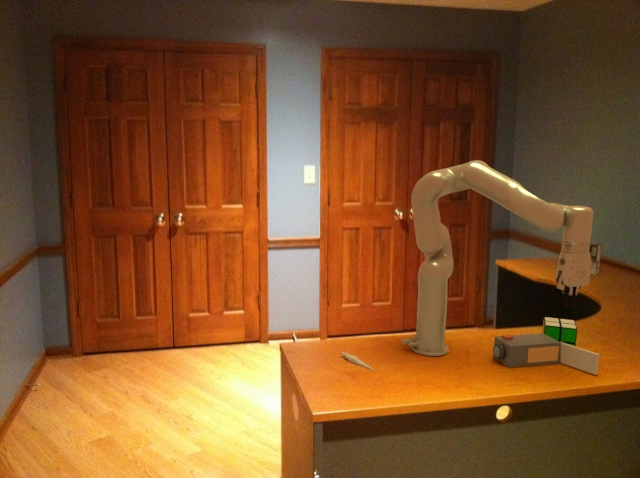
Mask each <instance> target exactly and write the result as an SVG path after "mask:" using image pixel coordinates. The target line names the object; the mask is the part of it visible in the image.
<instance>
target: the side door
mask: <svg viewBox="0 0 640 478" xmlns="http://www.w3.org/2000/svg"><path fill="white" fill-rule="evenodd" d="M558 364H563V365H566V366H569V367H572V368H574V369H578V370H581V371H583V372H586V373H589V374H591V375H595V376H596V375H598V373H599V364H600V353H596V352H594V351H590V350H587V349H585V348H581V347H578V346H576V347H575V346H572V345H569V344H566V343H564V342H560V353H559V363H558Z"/></svg>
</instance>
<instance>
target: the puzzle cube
mask: <svg viewBox="0 0 640 478" xmlns="http://www.w3.org/2000/svg"><path fill="white" fill-rule="evenodd" d="M541 333H544V334H546V335H548V336H549V337H551V338H553V339H555V340H557V341H559V342H564V343H566V344H569V345H572V346H575V347H577V346H576V345H577V344H576V343H577V337H578V328H577V323H576V321H575V320H573V319H565V318H557V317H556V318H555V317H547V316H544V317H543V322H542V332H541Z"/></svg>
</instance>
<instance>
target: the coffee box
mask: <svg viewBox="0 0 640 478" xmlns="http://www.w3.org/2000/svg"><path fill="white" fill-rule="evenodd" d="M589 253H590V256H591V274H590V275H592V274H593V275H594V276H596V275H598V273H599V274H600V266H601V255H602V244H601V243H592V242H590V247H589Z"/></svg>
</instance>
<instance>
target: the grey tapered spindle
mask: <svg viewBox="0 0 640 478" xmlns="http://www.w3.org/2000/svg"><path fill="white" fill-rule="evenodd" d="M341 355H343V356H342V358H345V360H347V361H348V362H350V363H353V364H356V365H357V366H359V367H362V368H365V369H367V370H369V371H372V372H375V370H374V368H372V367H371V366H370V365H368V364H366V363H365V362H364V361H362V360H361V359H359V358H358V356H356V355H354V354H353V355H352V354H350V353H346V352H344V351H342V352H341Z"/></svg>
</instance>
